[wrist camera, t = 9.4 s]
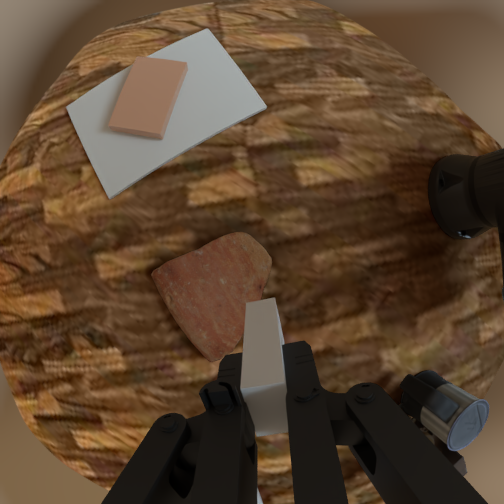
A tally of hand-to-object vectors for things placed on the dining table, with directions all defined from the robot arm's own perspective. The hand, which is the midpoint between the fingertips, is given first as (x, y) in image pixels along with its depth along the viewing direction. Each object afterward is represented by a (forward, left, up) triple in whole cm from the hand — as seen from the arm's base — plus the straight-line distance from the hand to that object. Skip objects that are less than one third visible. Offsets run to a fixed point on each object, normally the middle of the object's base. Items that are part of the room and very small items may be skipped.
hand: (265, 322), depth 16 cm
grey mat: (-3, -28, -27) cm, 39 cm away
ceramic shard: (+2, +1, -27) cm, 28 cm away
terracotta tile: (+2, -24, -25) cm, 35 cm away
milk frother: (-12, +37, -27) cm, 47 cm away
